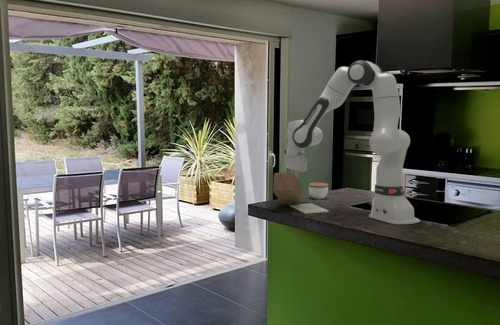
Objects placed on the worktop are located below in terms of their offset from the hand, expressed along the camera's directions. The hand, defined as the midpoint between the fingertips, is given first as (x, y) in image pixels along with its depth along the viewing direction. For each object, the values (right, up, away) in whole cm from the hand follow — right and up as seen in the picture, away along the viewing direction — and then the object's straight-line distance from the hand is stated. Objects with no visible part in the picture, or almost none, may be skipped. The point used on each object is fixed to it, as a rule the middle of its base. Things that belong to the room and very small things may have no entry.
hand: (295, 178), depth 232 cm
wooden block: (-2, -8, -1) cm, 8 cm away
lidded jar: (+14, -11, +16) cm, 24 cm away
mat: (+5, -14, -11) cm, 19 cm away
